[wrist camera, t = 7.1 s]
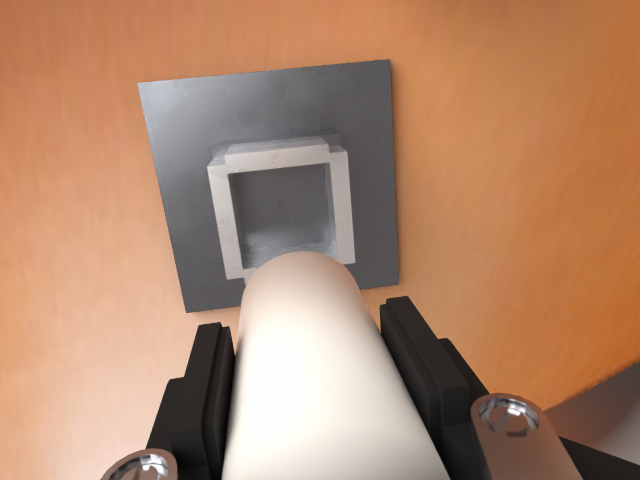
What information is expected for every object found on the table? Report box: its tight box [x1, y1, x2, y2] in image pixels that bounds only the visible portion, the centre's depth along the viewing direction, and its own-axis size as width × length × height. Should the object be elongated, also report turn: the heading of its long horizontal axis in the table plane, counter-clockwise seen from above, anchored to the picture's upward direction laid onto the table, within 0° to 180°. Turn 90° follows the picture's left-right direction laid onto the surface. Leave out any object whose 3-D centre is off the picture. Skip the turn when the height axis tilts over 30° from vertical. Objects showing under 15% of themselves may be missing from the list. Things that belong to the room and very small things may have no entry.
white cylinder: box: [221, 251, 450, 480], centre depth 11 cm, size 4×4×8 cm
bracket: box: [137, 59, 399, 313], centre depth 29 cm, size 16×16×7 cm
